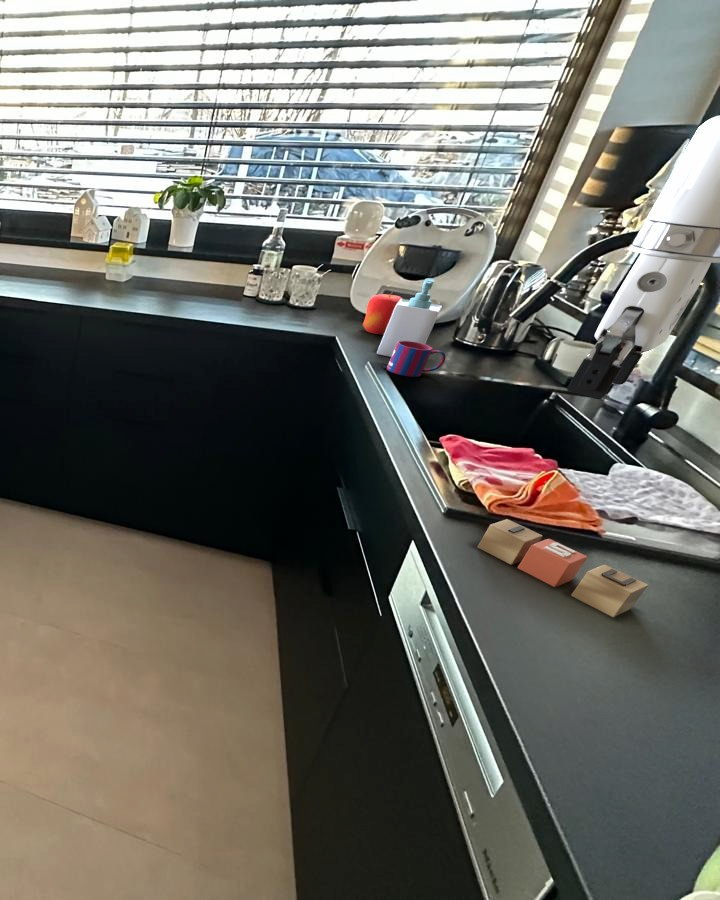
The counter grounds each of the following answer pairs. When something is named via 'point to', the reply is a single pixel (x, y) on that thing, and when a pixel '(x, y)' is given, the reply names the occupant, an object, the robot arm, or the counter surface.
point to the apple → (380, 312)
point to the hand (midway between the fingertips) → (595, 387)
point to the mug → (412, 359)
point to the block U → (609, 590)
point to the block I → (508, 541)
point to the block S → (552, 562)
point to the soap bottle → (410, 320)
